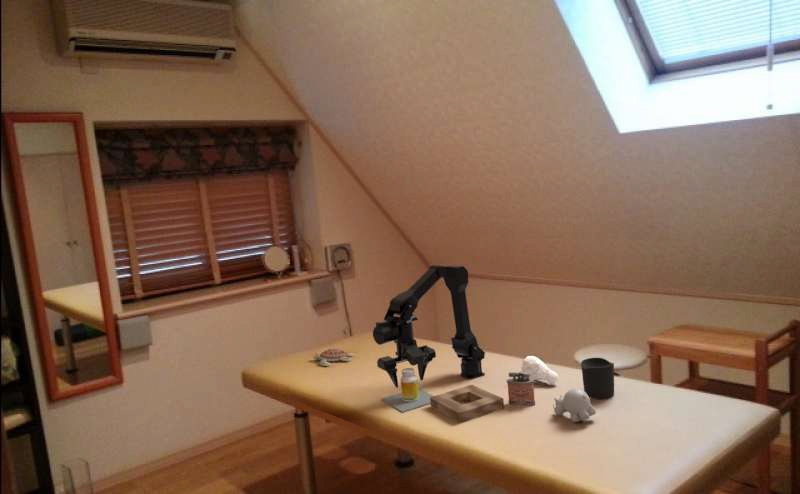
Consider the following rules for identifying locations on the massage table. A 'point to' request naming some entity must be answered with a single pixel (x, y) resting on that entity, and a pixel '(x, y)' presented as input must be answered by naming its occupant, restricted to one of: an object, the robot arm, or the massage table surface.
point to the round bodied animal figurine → (574, 405)
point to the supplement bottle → (409, 385)
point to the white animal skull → (538, 370)
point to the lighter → (520, 389)
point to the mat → (405, 406)
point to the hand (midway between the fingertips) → (409, 383)
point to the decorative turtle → (332, 356)
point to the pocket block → (477, 407)
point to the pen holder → (598, 377)
